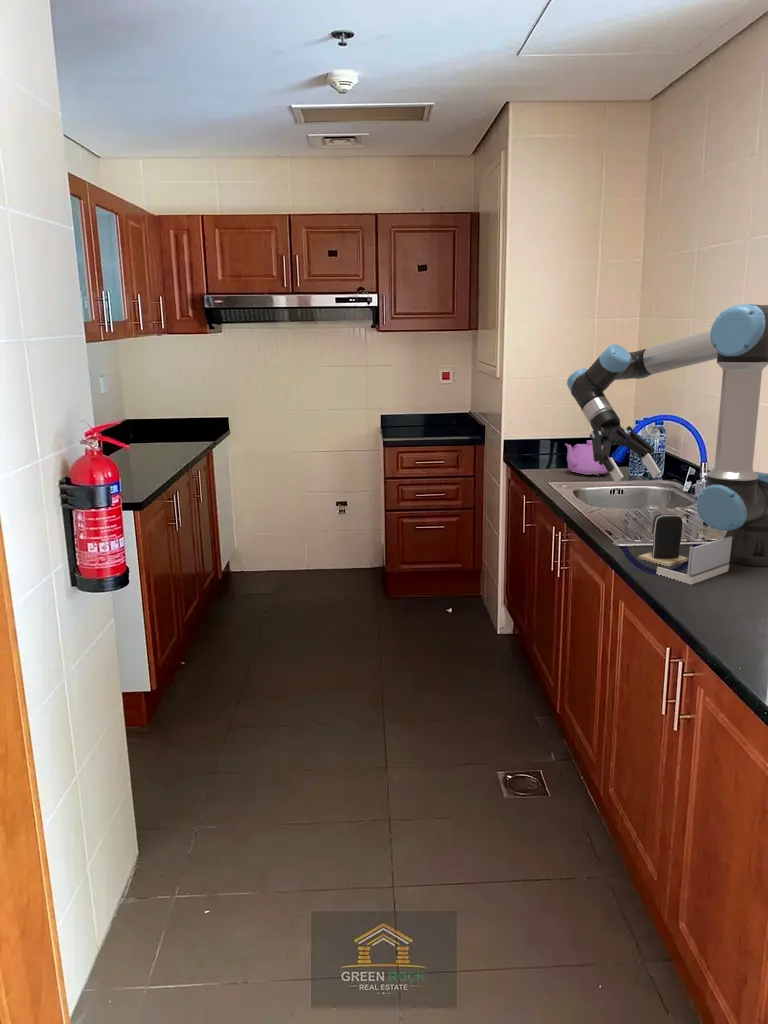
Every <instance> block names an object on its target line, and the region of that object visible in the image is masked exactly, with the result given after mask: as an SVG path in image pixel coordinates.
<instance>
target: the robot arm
mask: <svg viewBox="0 0 768 1024" xmlns="http://www.w3.org/2000/svg"><path fill="white" fill-rule="evenodd" d="M713 360H716V364H717V365H718V366H719V367H720V368H721V369H722V376H721V377H722V378H721V389H720V398H719V399H720V402H719V411H718V413H719V414H718V423H717V433H716V435H717V436H716V444H715V445H716V449H715V457H714V467H713V468H712V469H711V470H710V471H708V472H707V474H706V475H707V476H706V485H705V487H704V488H703V489H702V490H701V491H700V492H699V494H698V496H697V498H696V511H697V514H698V516H699V517H700V519H701V520H703V522H704V524H706V525H707V526H708V527H709V528H711V529H713V530H714V529H715V530H717V531H725V534H724V536H723V538H726V537H729V536H731V537H732V544H731V552H730V561H729V563H730V562H731V563H735V564H739V565H743V566H744V565H745V566H753V567H768V472H767V473H766V472H760V471H755V470H754V468H753V467H754V459H755V458H754V455H755V446H756V437H757V428H758V427H757V426H758V416H759V408H760V407H759V405H760V396H761V385H762V375H763V374H762V373H763V370H764V369H765V368H766V367H767V366H768V304H751V303H744V304H736V305H732V306H729V307H728V308H726V309H724V310H722V311H721V313H720V314H718V316H717V317H716V318H715V320H714V321H713V323H712V325H711V329H710V330H708V331H706V332H702V333H699V334H694V335H691V336H687V337H684V338H679V339H676V340H673V341H669V342H666V343H662V344H657V345H655V346H651V347H647V348H643V349H640V350H636V351H632V352H631V351H628V349H626V348H625V347H623V346H622V345H619V344H617V343H616V344H615V343H614V344H610V345H609V346H608V347H607V348H606V349H605V350H603V352H602V353H601V354H600V355H599V357H598V358H597V359H596V360H595V361H594V362H593V363H592V364H591V366H590V367H589V368H580V369H577V370H576V371H575V372H573V373H571V374H570V375H569V376H568V378H567V381H566V385H567V387H568V389H569V392H570V394H571V396H572V397H573V398H574V400H575V401H576V403H577V404H578V406H579V408H580V409H581V412H582V414H583V415H584V416H585V418H586V420H587V421H588V423H589V424H590V426H591V427H590V428H592V432H591V433H590V434H589V438H590V439H591V440H592V446H593V456H594V461H595V462H598V461H599V464H600V465H602V464H604V466H605V468H606V469H607V471H608V472H609V474H610V476H611V477H612V479H613V481H614V483H615V484H618V483H620V481H622V479H623V478H624V475H623V473H622V472H621V470H620V468H619V466H618V465H617V463H616V462H615V460H614V459H613V456H612V457H610V453H611V448H612V447H613V446H615V445H616V446H622V447H626V448H627V449H629V450H630V451H632V452H633V453H635V454H637V455H638V456H640V457H641V461H642V463H643V464H644V466H645V467H646V469H647V471H648V473H649V474H650V476H651V477H652V479H656V478H657V477H658V476H659V475H660V474H661V473H662V471H661V470H660V468H659V467H658V465H657V462H656V460H655V458H654V457H653V455H652V454H653V453H654V452H655V451H656V450H655V448H654V447H653V446H651V444H649V443H648V441H646V440H644V439H643V437H641V436H640V435H639V434H637V433H636V432H635V431H634V429H633V428H632V426H630V425H628V426H627V428H623V427H622V426H621V419H620V417H619V415H617V412H616V410H614V407H613V406H612V404H611V403H610V400H609V399H608V398H607V396H606V395H605V393H604V392H605V390H607V389H608V388H609V386H611V385H612V384H613V383H614V381H618V380H621V381H622V380H631V379H634V380H635V379H636V380H641V379H645V378H649V377H650V376H652V375H656V374H660V373H664V372H668V371H672V370H677V369H681V368H684V367H689V366H693V365H697V364H702V363H706V362H709V361H713ZM602 440H603V441H602ZM602 446H603V449H602ZM611 446H612V447H611ZM608 458H609V459H608ZM608 472H607V473H608Z"/></svg>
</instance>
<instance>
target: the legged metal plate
mask: <svg viewBox="0 0 768 1024" xmlns="http://www.w3.org/2000/svg"><path fill="white" fill-rule="evenodd" d="M731 544H732V537H731V536H729V537H726V538H724V537H723V538H720V539H717V540H713V541H711V542H710V541H709V542H706V543H704V544H701V545H697V546H694V547H693V546H690V547H689V554H688V558H689V560H688V561H687V563H688V564H687V572H686V573H682V572H680V571H675V570H672V569H667V568H665V567H661V566H657V567H656V573H655V574H658V575H657V576H660V575H662V576H661V577H663V576H665V577H664V578H666V577H668V578H667V579H670V578H671V579H670V580H673V579H675V580H674V581H677V580H678V581H677V582H680V581H681V583H684V584H687V585H691V586H692V585H694V584H697V583H700V582H703V581H705V580H709V579H711V578H713V577H716V576H718V575H719V576H720V575H722V574H724V573H727V572H729V569H730V552H731Z"/></svg>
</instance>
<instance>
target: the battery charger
mask: <svg viewBox="0 0 768 1024" xmlns="http://www.w3.org/2000/svg"><path fill="white" fill-rule="evenodd" d="M682 532H683V520H682V518H681V516H679V515H676V514H675V513H674V514H673V513H667V514H666V513H660V514H656V515H655V516H654V517H653V521H652V528H651V533H652V534H653V535H652V536H653V537H652V539H653V540H652V541H653V542H652V543H653V544H652V549H651V552H652V556H653V557H654V558H678V557H679V555H680V548H681V547H680V546H681V541H682Z"/></svg>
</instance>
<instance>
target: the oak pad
mask: <svg viewBox="0 0 768 1024" xmlns="http://www.w3.org/2000/svg"><path fill="white" fill-rule="evenodd" d="M638 560H642V561H645V560H646V561H645V562H649V561H650V563H652V562H653V564H656V563H657V564H656V565H659V564H661V565H660V566H663V565H664V567H667V566H668V567H667V568H670V566H671V567H674V566H676V564H677V565H680V564H683V563H685V562H689V556H688V557H687V556H683V555H680V554H679V557H678V558H654V557H653V556H652V551H651V552H647V553H643V554H640V555H638ZM673 565H674V566H673Z"/></svg>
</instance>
